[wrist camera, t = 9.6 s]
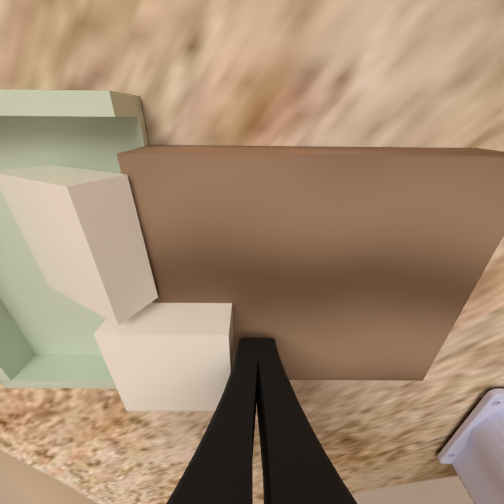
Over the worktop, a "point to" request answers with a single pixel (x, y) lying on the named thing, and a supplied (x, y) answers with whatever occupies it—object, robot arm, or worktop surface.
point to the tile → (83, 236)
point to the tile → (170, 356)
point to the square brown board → (323, 245)
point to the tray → (18, 252)
